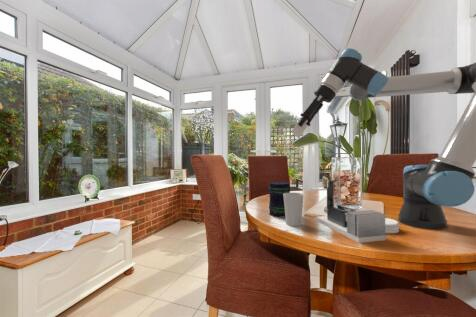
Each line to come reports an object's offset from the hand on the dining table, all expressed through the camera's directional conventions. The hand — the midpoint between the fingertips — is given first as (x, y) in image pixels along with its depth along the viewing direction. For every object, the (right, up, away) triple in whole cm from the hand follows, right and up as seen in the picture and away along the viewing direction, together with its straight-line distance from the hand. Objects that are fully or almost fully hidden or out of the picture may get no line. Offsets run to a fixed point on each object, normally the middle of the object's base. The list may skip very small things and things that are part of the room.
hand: (295, 135), depth 91 cm
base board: (+17, -36, -6) cm, 40 cm away
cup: (0, -36, +1) cm, 36 cm away
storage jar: (-3, -36, +16) cm, 39 cm away
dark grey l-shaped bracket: (+17, -33, -3) cm, 37 cm away
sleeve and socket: (+18, -34, -9) cm, 40 cm away
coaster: (+31, -36, -7) cm, 48 cm away
